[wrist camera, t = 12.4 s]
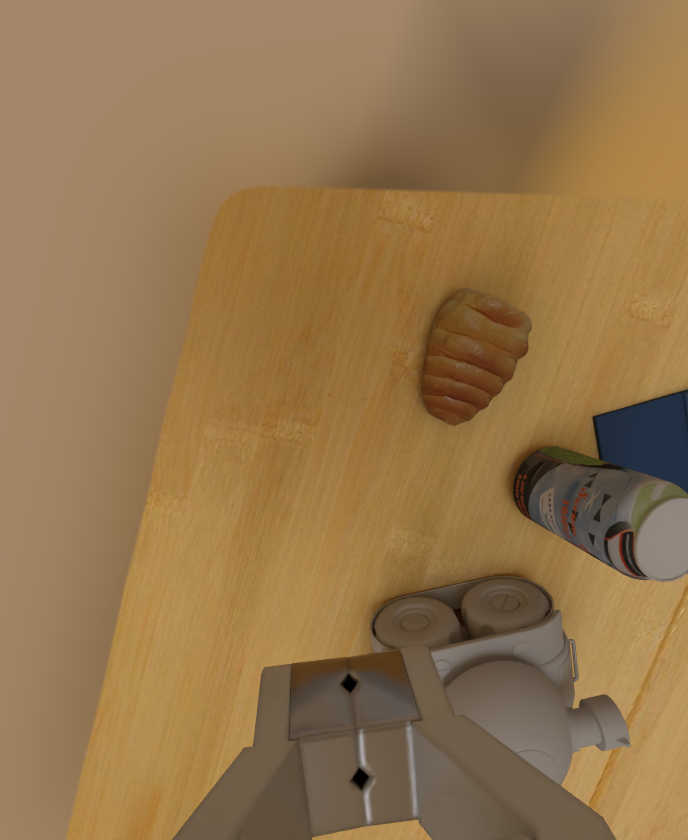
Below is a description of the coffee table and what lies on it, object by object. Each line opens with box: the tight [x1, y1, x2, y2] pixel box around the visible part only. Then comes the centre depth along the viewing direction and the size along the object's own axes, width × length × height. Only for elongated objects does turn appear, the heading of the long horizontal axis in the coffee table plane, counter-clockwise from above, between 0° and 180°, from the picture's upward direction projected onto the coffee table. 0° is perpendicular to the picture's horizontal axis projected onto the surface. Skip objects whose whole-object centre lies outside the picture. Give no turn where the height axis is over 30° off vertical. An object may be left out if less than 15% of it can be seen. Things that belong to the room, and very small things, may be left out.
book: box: [593, 390, 688, 494], centre depth 37 cm, size 11×9×1 cm
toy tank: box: [370, 576, 631, 786], centre depth 33 cm, size 15×11×13 cm
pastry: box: [421, 289, 532, 425], centre depth 33 cm, size 9×7×4 cm
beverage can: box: [513, 446, 688, 582], centre depth 31 cm, size 6×7×12 cm
